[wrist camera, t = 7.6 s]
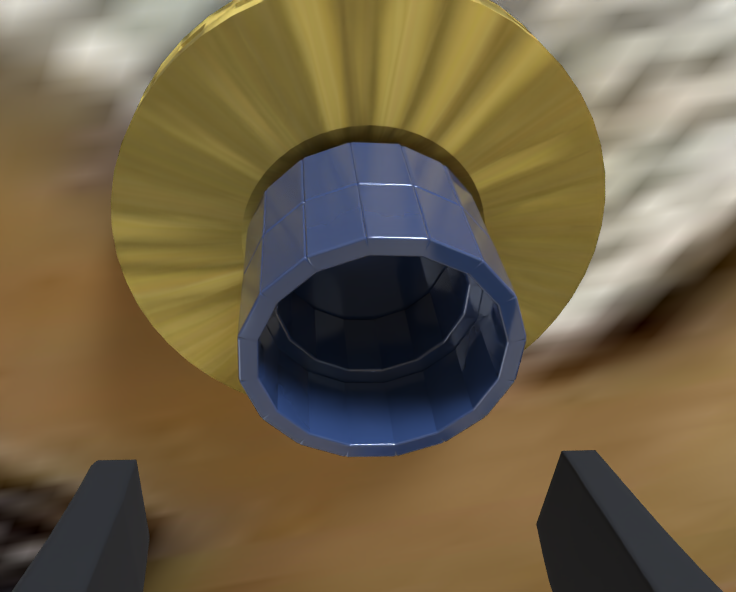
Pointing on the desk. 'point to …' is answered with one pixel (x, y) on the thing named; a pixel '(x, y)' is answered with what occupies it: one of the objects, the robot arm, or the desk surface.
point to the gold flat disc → (345, 125)
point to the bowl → (374, 305)
